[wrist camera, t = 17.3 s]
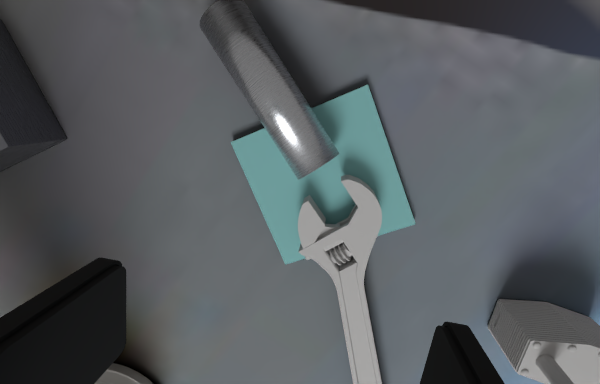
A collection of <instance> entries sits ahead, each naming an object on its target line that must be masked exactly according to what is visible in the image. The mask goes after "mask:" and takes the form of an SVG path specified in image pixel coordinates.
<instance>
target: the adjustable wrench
mask: <svg viewBox="0 0 600 384" xmlns="http://www.w3.org/2000/svg"><path fill="white" fill-rule="evenodd" d="M341 182H342V184H343V185H344V187H345V188H346V190H347V191H348V193H349V194H350V196H351V197H352V199H353V200H354V202H355V203H356V204H355V206H354V208H353V209H352V211H351V213H350V214H349V216H348V218H346V219H344V220H342V221H340V222H338V223H337V224H325V221H326V218H325V216H324V215H323V213H322V212H321V211H320V209H319V208H318V206H317V205H316V203H315V202H314V200H313V199H312V197H311V196H310V195H309V196H307V197H305V198H304V201H303V204H302V206H301V210H300V213H299V218H298V232H299V238H300V241H301V244H300V248H299V253H300V254H301V255H303V256H305V258H306V259H307V260H309V259H313V260H314V261H316V262H317V263H318V264H319V265H320V266H321V267H322V268H323V269H325V270H326V271H327V272H328V274H329V275H330V276H331V278H332V279H333V282H334V284H335V286H336V289H337V293H338V299H339V304H340V310H341V316H342V321H343V327H344V333H345V339H346V344H347V350H348V356H349V362H350V367H351V373H352V379H353V384H382V380H381V374H380V369H379V363H378V358H377V352H376V347H375V342H374V336H373V331H372V325H371V320H370V315H369V309H368V304H367V298H366V293H365V287H364V275H365V270H366V266H367V262H368V259H369V255H370V252H371V250H372V247H373V245H374V242H375V240H376V238H377V235H378V233H379V230H380V228H381V223H382V211H381V207H380V204H379V201H378V199H377V197H376V195H375V193H374V191H373V190H372V189H371V188H370V187H369V185H367V184H366V183H365V182H363V181H362V180H361V179H359V178H357V177H354V176H351V175H343V176H341ZM351 256H353V257H351Z"/></svg>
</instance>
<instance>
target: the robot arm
mask: <svg viewBox="0 0 600 384" xmlns="http://www.w3.org/2000/svg"><path fill="white" fill-rule="evenodd" d="M125 344H126V269H125V268H124V267H122V264H121V262H120V261H116V260H111V259H106V258H98V259H96V260H94V261H92V262H91V263H89V264H88V265H86V266H84V267H83V268H81V269H79V270H78V271H76V272H74V273H73V274H71V275H70V276H68V277H66V278H65V279H63V280H61V281H60V282H58V283H56V284H55V285H53V286H51V287H50V288H48V289H47V290H45V291H43V292H42V293H40V294H38V295H37V296H35V297H33V298H32V299H30V300H29V301H27V302H25V303H24V304H22V305H20V306H19V307H17V308H15V309H14V310H12V311H11V312H9V313H7V314H6V315H4V316H2V317H1V318H0V384H154V383H152V382H151V381H150V380H149V379H148V378H146V377H145V376H143V375H142V374H140V373H139V372H137V371H135V370H133V369H131V368H129V367H126V366H123V365H119V364H115V363H113V362H114V361H115V360H116V359H117V358H118V357H119V356H120V354H121V353H122V351H123V350H124V347H125ZM420 384H504V382H503V380H502V379H501V377H500V376H499V374H498V373H497V371H496V369H495V368H494V366H493V365H492V363H491V361H490V360H489V358H488V357H487V355H486V353H485V352H484V350H483V349H482V347H481V345H480V344H479V342H478V341H477V339H476V337H475V336H474V334H473V333H472V331H471V329H470V328H469V327H468V326H467V325H462V324H457V323H452V322H444V324H443V325H442V326H437V327H436V330H435V333H434V336H433V340H432V343H431V347H430V350H429V354H428V357H427V361H426V364H425V368H424V371H423V374H422V378H421V381H420Z"/></svg>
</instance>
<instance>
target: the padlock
mask: <svg viewBox="0 0 600 384" xmlns="http://www.w3.org/2000/svg"><path fill="white" fill-rule="evenodd" d="M488 329H489V330H490V332H491V334H492V335H493V337H494V339H495V340H496V341H497V343H498V345H499V346H500V348H501V349H502V351H503V353H504V354H505V355H506V357H507V359H508V360H509V362H510V364H511V365H512V367H513V368H514V370H515V371H516V372H517V373H518V374H520V375H522V376H525V377H528V378H531V379H533V380H536V381H539V382H542V383H544V384H600V326H599V325H598V324H597V323H596V322H595V321H594V320H592V319H591V318H590V317H588V316H585V315H582V314H579V313H576V312H573V311H571V310H568V309H565V308H562V307H559V306H556V305H554V304H551V303H548V302H540V301H524V300H509V299H499V300H498V301H497V304H496V307H495V309H494V312H493V314H492V317H491V320H490V322H489V325H488Z"/></svg>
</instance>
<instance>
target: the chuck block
mask: <svg viewBox="0 0 600 384" xmlns="http://www.w3.org/2000/svg"><path fill="white" fill-rule="evenodd" d="M65 140H67V137H66V135H65V134H64V132H63V130H62V128H61V126H60V125H59V123H58V121H57V119H56V117H55V116H54V114H53V112H52V110H51V108H50V107H49V105H48V103H47V101H46V99H45V98H44V96H43V94H42V92H41V90H40V89H39V87H38V85H37V83H36V81H35V80H34V78H33V76H32V74H31V72H30V71H29V69H28V67H27V65H26V63H25V62H24V60H23V58H22V56H21V54H20V53H19V51H18V49H17V47H16V45H15V44H14V42H13V40H12V38H11V36H10V35H9V33H8V31H7V29H6V27H5V26H4V24H3V22H2V20H1V19H0V172H1V171H3V170H5V169H7V168H9V167H11V166H13V165H15V164H17V163H19V162H21V161H23V160H25V159H27V158H30V157H32V156H34V155H36V154H38V153H40V152H42V151H44V150H46V149H48V148H50V147H52V146H54V145H56V144H58V143H60V142H62V141H65Z"/></svg>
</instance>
